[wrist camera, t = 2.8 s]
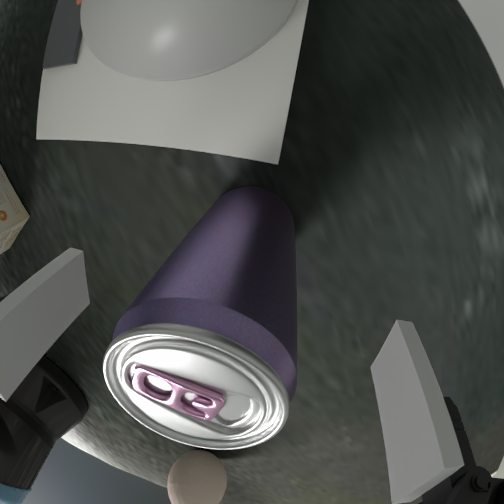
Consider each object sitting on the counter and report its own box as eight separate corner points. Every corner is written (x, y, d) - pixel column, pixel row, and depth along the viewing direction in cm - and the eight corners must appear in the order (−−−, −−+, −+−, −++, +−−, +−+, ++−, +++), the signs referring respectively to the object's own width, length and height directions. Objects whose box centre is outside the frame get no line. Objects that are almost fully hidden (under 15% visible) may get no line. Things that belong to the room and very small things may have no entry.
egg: (169, 446, 37) (148, 507, 27) (195, 433, 34) (174, 506, 24) (212, 466, 38) (198, 525, 28) (243, 455, 35) (230, 524, 25)
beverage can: (228, 170, 20) (102, 283, 6) (308, 206, 20) (340, 380, 7) (199, 244, 22) (95, 407, 9) (272, 276, 23) (246, 466, 9)
